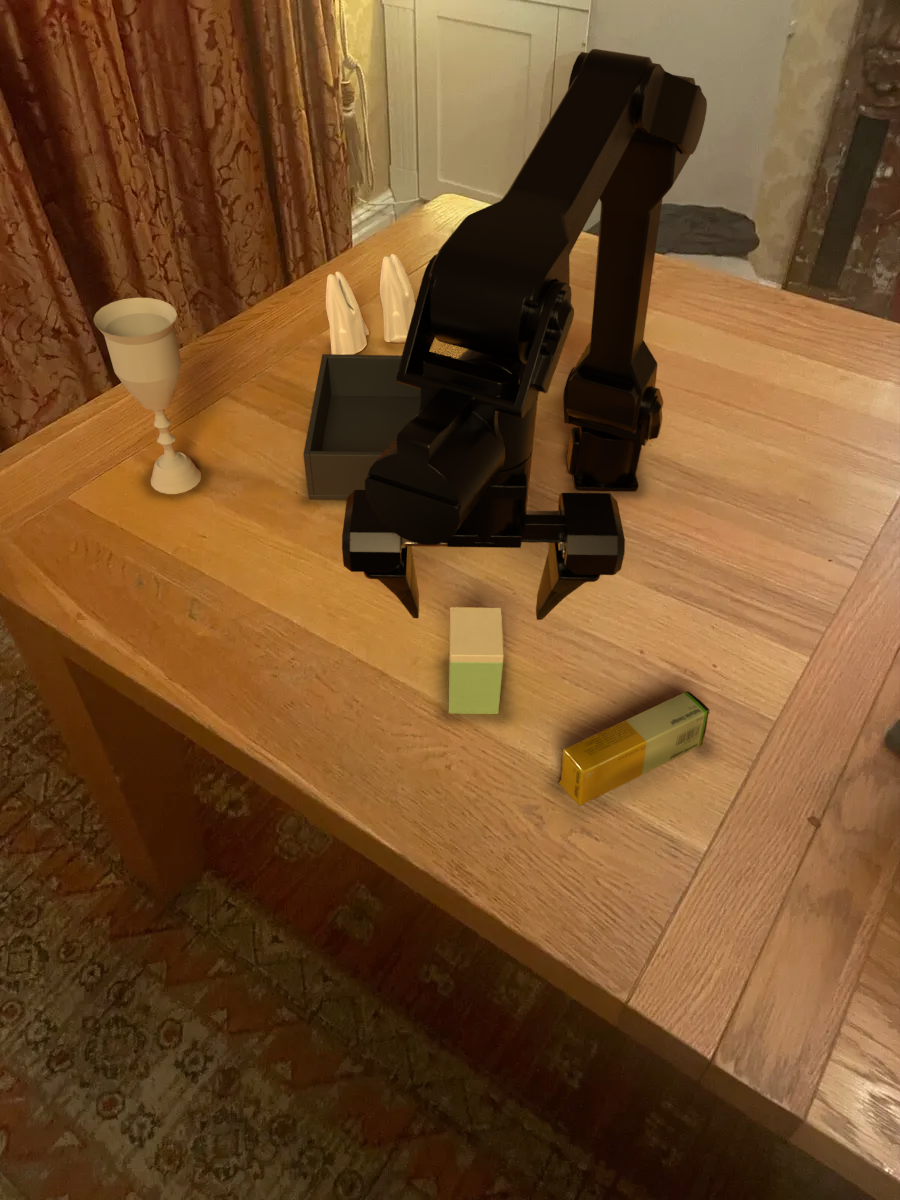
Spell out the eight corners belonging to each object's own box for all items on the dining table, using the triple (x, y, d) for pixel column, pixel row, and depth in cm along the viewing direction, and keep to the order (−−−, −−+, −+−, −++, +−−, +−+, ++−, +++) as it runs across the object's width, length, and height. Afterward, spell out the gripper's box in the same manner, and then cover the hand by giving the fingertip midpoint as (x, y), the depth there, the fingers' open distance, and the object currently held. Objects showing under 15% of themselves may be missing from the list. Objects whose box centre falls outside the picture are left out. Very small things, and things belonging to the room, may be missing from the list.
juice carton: (496, 666, 76) (501, 607, 71) (498, 714, 73) (503, 656, 67) (448, 665, 76) (450, 606, 71) (448, 713, 73) (450, 655, 67)
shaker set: (418, 328, 114) (418, 242, 106) (428, 345, 112) (428, 258, 104) (325, 342, 112) (317, 255, 104) (333, 359, 109) (325, 271, 101)
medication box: (681, 722, 72) (689, 687, 70) (704, 745, 71) (713, 710, 68) (557, 783, 68) (560, 747, 65) (578, 808, 66) (583, 773, 64)
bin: (450, 399, 104) (451, 356, 100) (450, 501, 91) (451, 456, 87) (326, 397, 103) (322, 353, 99) (308, 499, 91) (303, 454, 87)
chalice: (225, 469, 94) (193, 308, 81) (185, 507, 90) (144, 344, 77) (167, 450, 96) (126, 291, 83) (125, 487, 92) (76, 324, 79)
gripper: (619, 376, 62) (590, 543, 74) (348, 372, 62) (360, 540, 73) (643, 477, 55) (606, 647, 66) (333, 473, 54) (349, 644, 66)
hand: (477, 614), depth 68 cm, fingers open, 9 cm apart
